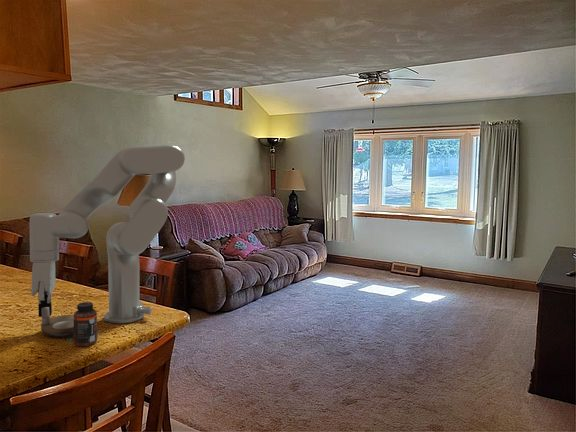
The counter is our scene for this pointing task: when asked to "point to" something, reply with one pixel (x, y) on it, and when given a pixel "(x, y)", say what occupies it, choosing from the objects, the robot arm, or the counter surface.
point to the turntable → (56, 323)
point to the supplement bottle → (85, 325)
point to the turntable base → (62, 336)
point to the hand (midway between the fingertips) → (45, 315)
